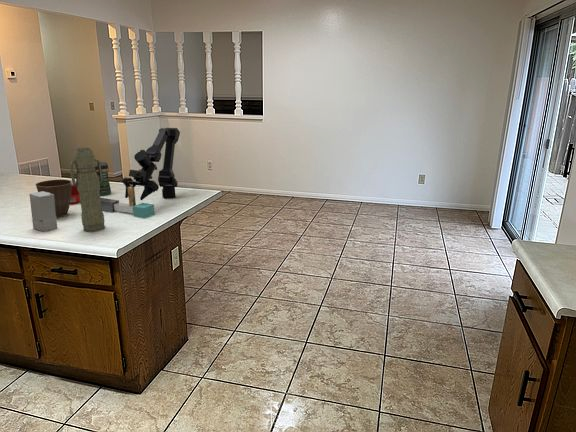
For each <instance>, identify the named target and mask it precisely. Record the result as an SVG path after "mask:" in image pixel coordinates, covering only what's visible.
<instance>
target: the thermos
mask: <svg viewBox="0 0 576 432" xmlns="http://www.w3.org/2000/svg"><path fill="white" fill-rule="evenodd" d="M101 162H102V161H100V160H99V159H98V158H95V154H94V152H93V150H92V148H89V147H80V148H77V149H75V151H74V158H73V160H70V163H69V169H70V177H71V181H72V183H73V186H77V190H78V192H79V195H80V202H81V203H80V207H81V213H80V216H81V224H82V227H83V228H82V230H83V231H84V232H87V233H88V232H89V233H90V232H92V233H94V232H99V231H103V230H105V228H106V225H105V222H106V221H105V215H104V211H102V209H101V201H100V198H101V196H100V193H99V190H100V183H101V182H102V181H103V177H102V170H101ZM95 163H98V171H99V177H98V175H97V173H96V169H95V167H96V165H95ZM74 165H75V168H76V176H75V172H74V171H75V170H74ZM75 181H76V183H75Z"/></svg>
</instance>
